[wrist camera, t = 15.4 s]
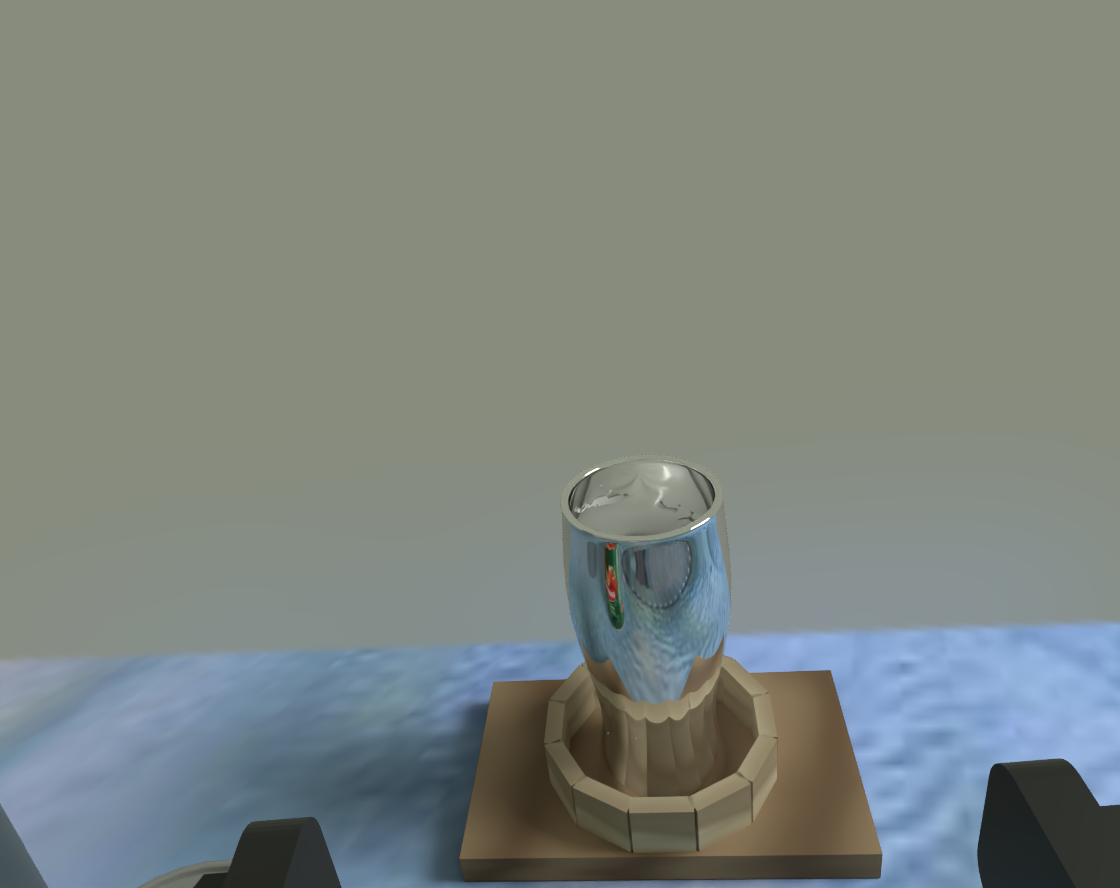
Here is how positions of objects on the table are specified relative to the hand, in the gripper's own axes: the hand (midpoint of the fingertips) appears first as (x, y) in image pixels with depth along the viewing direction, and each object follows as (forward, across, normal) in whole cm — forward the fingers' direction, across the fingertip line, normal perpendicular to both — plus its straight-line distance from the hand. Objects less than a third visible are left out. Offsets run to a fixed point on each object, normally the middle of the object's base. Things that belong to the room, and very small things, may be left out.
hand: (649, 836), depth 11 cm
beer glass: (+23, -1, +25) cm, 34 cm away
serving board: (+24, -1, +26) cm, 35 cm away
